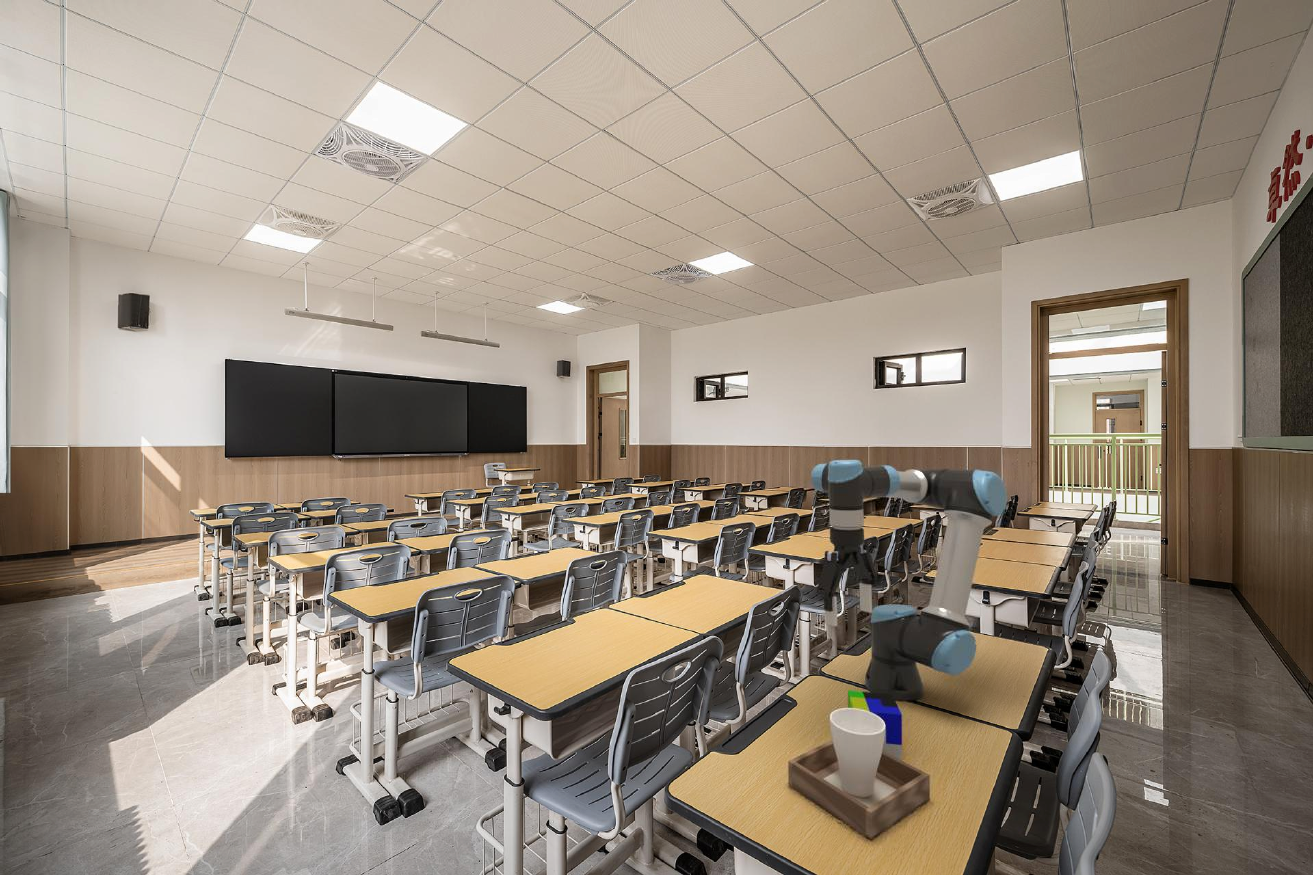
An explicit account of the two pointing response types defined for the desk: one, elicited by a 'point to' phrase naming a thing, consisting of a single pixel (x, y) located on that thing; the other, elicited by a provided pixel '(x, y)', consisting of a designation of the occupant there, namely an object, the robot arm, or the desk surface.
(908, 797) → the walled box
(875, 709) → the puzzle toy
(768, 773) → the desk surface
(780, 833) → the desk surface
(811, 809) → the desk surface
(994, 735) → the desk surface
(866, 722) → the cup
